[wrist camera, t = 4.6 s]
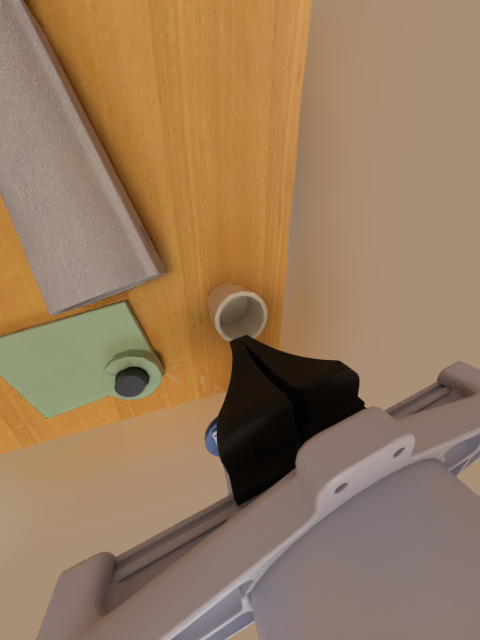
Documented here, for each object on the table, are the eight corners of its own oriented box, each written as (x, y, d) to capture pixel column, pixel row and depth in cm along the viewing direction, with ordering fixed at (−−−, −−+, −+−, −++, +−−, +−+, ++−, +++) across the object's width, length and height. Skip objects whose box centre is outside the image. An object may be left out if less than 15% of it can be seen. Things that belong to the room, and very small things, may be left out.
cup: (253, 316, 24) (271, 332, 19) (213, 329, 23) (223, 351, 18) (244, 276, 22) (263, 284, 17) (200, 289, 20) (207, 302, 16)
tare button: (151, 381, 20) (149, 390, 19) (126, 391, 20) (122, 401, 18) (140, 363, 19) (137, 371, 18) (113, 372, 19) (108, 382, 17)
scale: (169, 374, 23) (168, 387, 21) (57, 417, 21) (42, 437, 18) (130, 298, 19) (123, 305, 16) (-22, 342, 16) (-54, 356, 14)
